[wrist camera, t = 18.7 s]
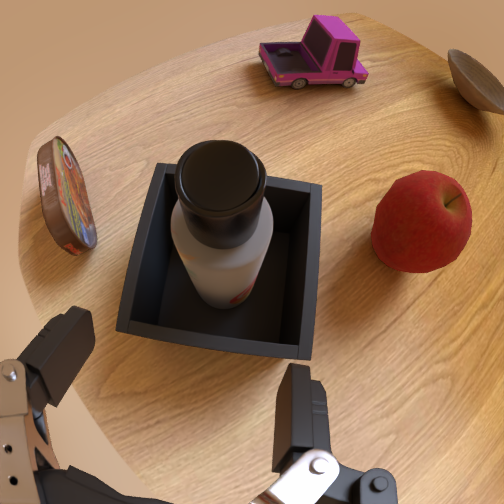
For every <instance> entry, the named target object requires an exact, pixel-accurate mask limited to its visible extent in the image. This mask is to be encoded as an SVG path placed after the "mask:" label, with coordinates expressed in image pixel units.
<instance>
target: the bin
mask: <svg viewBox="0 0 504 504" xmlns="http://www.w3.org/2000/svg"><path fill="white" fill-rule="evenodd" d="M176 166H177V164H166V163H157V164H156V167H155V171H154V174H153V177H152V180H151V183H150V186H149V190H148V193H147V196H146V200H145V203H144V206H143V210H142V213H141V217H140V221H139V224H138V228H137V232H136V236H135V240H134V244H133V248H132V252H131V256H130V260H129V264H128V269H127V273H126V278H125V282H124V287H123V292H122V297H121V302H120V307H119V313H118V318H117V324H116V331H118V332H123V333H127V334H132V335H136V336H141V337H146V338H150V339H155V340H160V341H165V342H171V343H176V344H182V345H187V346H193V347H199V348H206V349H212V350H219V351H226V352H233V353H240V354H248V355H257V356H265V357H275V358H285V359H297V360H309V361H310V360H311V355H312V345H313V335H314V325H315V314H316V301H317V288H318V273H319V257H320V236H321V209H322V185H319V184H313V183H311V184H310V183H308V182H302V181H296V180H290V179H284V178H278V177H272V176H267V182H266V188H265V193H264V197H265V199H266V200H267V202H268V204H269V206H270V209H271V212H272V217H273V232H272V236H271V240H270V243H269V246H268V249H267V251H266V254H265V257H264V259H263V262H262V264H261V267H260V270H259V272H258V275H257V277H256V280H255V283H254V285H253V288H252V290H251V292H250V294H249V296H248V297H247V298H246V300H245V301H244V302H242V303H241V304H240V305H238V306H236V307H233V308H230V309H219V308H215V307H212V306H210V305H209V304H207V303H206V302H205V301H204V300H203V299H202V298H201V297H200V295H199V294H198V292H197V290H196V288H195V286H194V284H193V282H192V280H191V278H190V276H189V274H188V272H187V270H186V268H185V266H184V264H183V261H182V259H181V257H180V255H179V253H178V251H177V248H176V246H175V244H174V241H173V238H172V233H171V216H172V212H173V209H174V206H175V204H176V202H177V201H178V195H177V192H176V188H175V179H174V178H175V169H176Z"/></svg>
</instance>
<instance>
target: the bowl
mask: <svg viewBox="0 0 504 504" xmlns="http://www.w3.org/2000/svg"><path fill="white" fill-rule="evenodd" d="M448 63H449V67H450V70H451V74H452V78H453V81H454V83H455V85H456V87H457V89H458V91H459V93H460V94H461V96H462V97H463V98H464V99H465V100H466V101H467V102H468V103H470V104H471V105H472V106H474V107H475V108H477V109H479V110H482V111H488V112H493V113H497V114H502V115H504V87H503V86H502V84H501V83H500V82H499V80H498V79H497V78H496V77H495V76H494V75H493V74H492V73H491V72H490V71H489V70H488V69H486V68H485V67H484V66H483V65H482V64H481V63H479V62H478V61H477V60H475V59H474V58H472V57H471V56H469V55H467V54H466V53H463V52H461V51H459V50H456V49H450V50H449V51H448Z"/></svg>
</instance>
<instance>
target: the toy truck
mask: <svg viewBox="0 0 504 504" xmlns="http://www.w3.org/2000/svg"><path fill="white" fill-rule="evenodd" d="M359 46H360V40H359V38H358V37H357V36H356V35H355V34H354V33H353V32H352V31H351V30H350V29H349V28H348V27H347V26H346V25H345V24H344V23H343V22H342V21H341V20H340V19H339V18H338V17H335V16H324V15H313V17H312V20H311V22H310V24H309V26H308V28H307V30H306V32H305V34H304V36H303V39H302V41H301V42H272V43H260V47H259V56H260V58H261V60H262V62H263V64H264V65H265V67H266V69H267V71H268V73H269V75H270V77H271V79H272V81H273V83H274V85H275V86H287V85H290V86H291V87H292V88H293V89H301V88H303V87H304V86H305V85H306V83H307V82H308V84H341V85H342V86H343V87H345V88H349V87H352V86H353V85H354V84H355V82H357V84H364V83H365V81H366V79H367V76H368V74H369V73H368V72H367V71H366V69H365V68H364V67H363V66H362V64H361V63H360V62H359V61H358V59H357V57H358V51H359Z"/></svg>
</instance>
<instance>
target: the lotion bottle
mask: <svg viewBox="0 0 504 504" xmlns="http://www.w3.org/2000/svg"><path fill="white" fill-rule="evenodd" d="M174 179H175V188H176V192H177V195H178V201H177V202H176V204H175V206H174V209H173V212H172V216H171V233H172V238H173V241H174V244H175V246H176V248H177V251H178V253H179V255H180V257H181V259H182V261H183V264H184V266H185V268H186V270H187V272H188V274H189V276H190V278H191V280H192V282H193V284H194V286H195V288H196V290H197V292H198V294H199V295H200V297H201V298H202V299H203V300H204V301H205V302H206V303H207V304H209V305H210V306H212V307H215V308H219V309H230V308H233V307H236V306H238V305H240V304H241V303H242V302H244V301H245V300H246V298H247V297H248V296H249V294H250V292H251V290H252V288H253V285H254V283H255V280H256V277H257V275H258V272H259V270H260V267H261V264H262V262H263V259H264V257H265V254H266V251H267V249H268V246H269V243H270V240H271V236H272V232H273V217H272V212H271V209H270V206H269V204H268V202H267V200H266V199H265V197H264V193H265V188H266V182H267V174H266V170H265V167H264V165H263V163H262V162H261V160H260V159H259V158H258V157H257V156H256V155H255V154H254V153H252V152H251V151H249V150H248V149H247V148H246V147H244V146H243V145H241V144H239V143H236V142H233V141H228V140H210V141H204V142H200V143H198V144H195V145H194V146H192V147H190V148H189V149H188V150H186V151H185V152H184V154H183V155H182V156H181V158H180V159H179V161H178V163H177V166H176V169H175V178H174Z"/></svg>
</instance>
